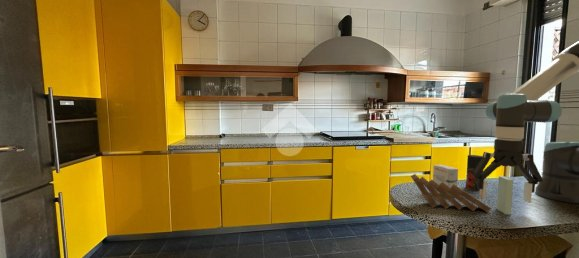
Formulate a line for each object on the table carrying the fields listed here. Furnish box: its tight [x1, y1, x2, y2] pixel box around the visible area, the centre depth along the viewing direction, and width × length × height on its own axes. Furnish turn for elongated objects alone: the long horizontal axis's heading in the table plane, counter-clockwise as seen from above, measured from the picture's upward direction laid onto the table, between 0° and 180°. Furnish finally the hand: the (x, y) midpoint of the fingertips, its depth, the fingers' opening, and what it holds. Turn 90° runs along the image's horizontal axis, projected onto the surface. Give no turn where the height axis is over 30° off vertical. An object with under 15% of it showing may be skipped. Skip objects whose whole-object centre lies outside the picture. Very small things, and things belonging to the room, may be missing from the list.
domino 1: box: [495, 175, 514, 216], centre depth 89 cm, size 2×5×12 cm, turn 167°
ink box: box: [432, 164, 459, 198], centre depth 108 cm, size 9×5×12 cm, turn 12°
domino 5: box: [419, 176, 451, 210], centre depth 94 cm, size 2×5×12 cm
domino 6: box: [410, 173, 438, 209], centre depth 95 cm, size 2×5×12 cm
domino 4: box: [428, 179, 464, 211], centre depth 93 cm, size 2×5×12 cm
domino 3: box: [439, 182, 478, 212], centre depth 93 cm, size 2×5×12 cm
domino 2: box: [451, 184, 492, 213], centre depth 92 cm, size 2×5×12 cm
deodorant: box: [465, 154, 484, 192], centre depth 116 cm, size 6×6×15 cm
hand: (504, 199), depth 89 cm, fingers open, 13 cm apart
